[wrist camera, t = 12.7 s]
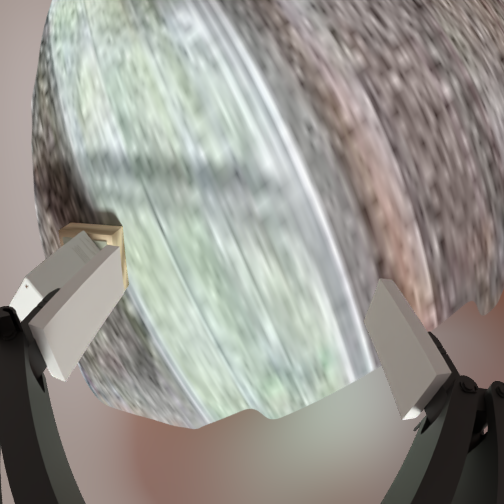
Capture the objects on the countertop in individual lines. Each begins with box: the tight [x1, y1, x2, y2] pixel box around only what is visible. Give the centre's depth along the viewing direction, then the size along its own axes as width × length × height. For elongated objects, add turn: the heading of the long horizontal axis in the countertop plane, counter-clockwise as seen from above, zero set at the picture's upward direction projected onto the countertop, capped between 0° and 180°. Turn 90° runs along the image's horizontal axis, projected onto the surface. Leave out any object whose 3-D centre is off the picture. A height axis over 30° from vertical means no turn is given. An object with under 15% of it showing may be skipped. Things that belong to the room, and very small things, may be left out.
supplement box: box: [9, 230, 100, 321], centre depth 34 cm, size 9×9×15 cm
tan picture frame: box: [59, 223, 129, 291], centre depth 43 cm, size 11×11×4 cm
